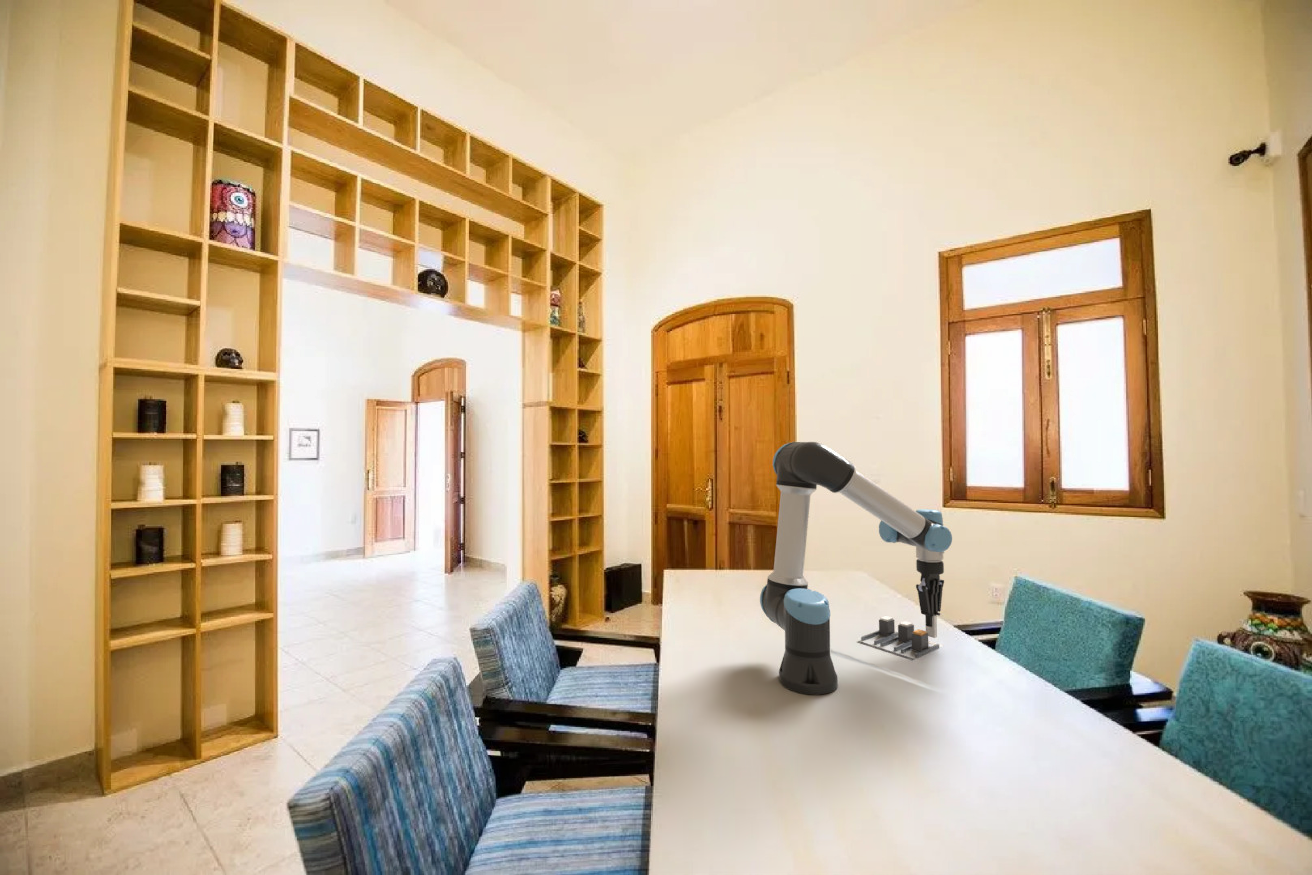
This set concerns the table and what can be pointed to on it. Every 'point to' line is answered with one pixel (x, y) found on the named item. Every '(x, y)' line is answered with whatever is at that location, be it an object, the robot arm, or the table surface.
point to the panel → (903, 647)
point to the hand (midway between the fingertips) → (931, 636)
